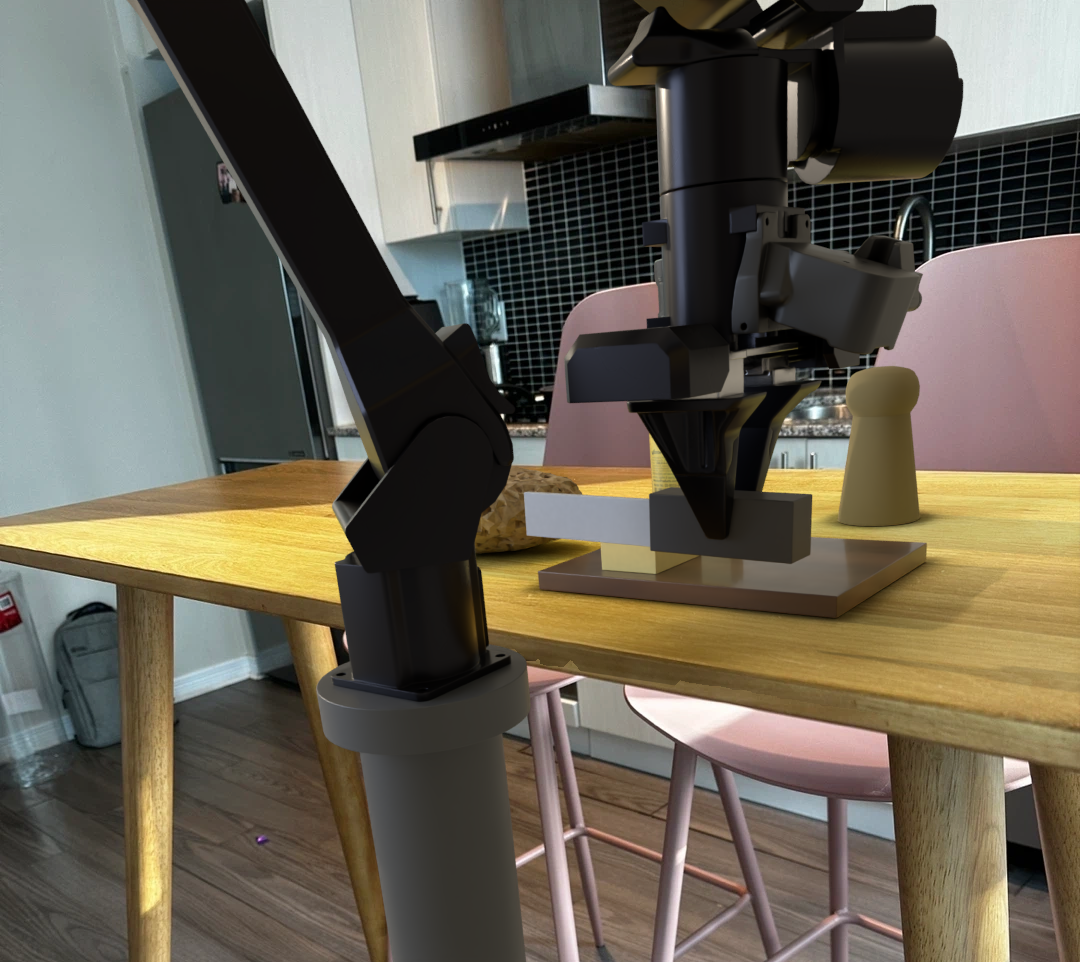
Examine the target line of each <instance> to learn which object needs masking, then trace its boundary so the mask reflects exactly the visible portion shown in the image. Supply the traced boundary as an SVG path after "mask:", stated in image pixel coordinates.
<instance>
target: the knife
mask: <svg viewBox="0 0 1080 962" xmlns="http://www.w3.org/2000/svg"><path fill="white" fill-rule="evenodd" d="M524 501H525V516H526V530H527V536H536V537H548V538H559V540H571V541H581V542H583V541H584V542H592V543H601V542H603V543H614V544H625V545H636V546H647V547H650V551H656V552H667V553H678V554H689V555H699V556H710V557H721V558H731V559H742V560H753V561H764V562H774V563H785V564H792V563H794V562H797V561H799V560H801V559H803V558H805V557H807V556H809V555H810V553H811V537H812V519H813V494H812V493H798V492H777V491H762V492H759V491H739V490H734V501H733V511H732V518H731V524H730V531H729V536H728V537H727V538H726V539H723V540H715V539H708V538H707V537H706V536H705V534H704V532H703V531H702V529H701V527H700V525H699V523H698V521H697V519H696V517H695V515H694V513H693V511H692V509H691V507H690V505H689V503H688V501H687V500H686V498H685V496H684V494H683V492H682V490H681V488H679V487H670V488H666V489H663V490H660V491H657V492H653V493H652V492H650V493H648V498H645V497H627V496H613V495H612V496H611V495H609V496H608V495H595V494H594V495H593V494H582V495H578V494H561V493H544V492H525V493H524Z"/></svg>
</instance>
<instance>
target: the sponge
mask: <svg viewBox="0 0 1080 962" xmlns="http://www.w3.org/2000/svg"><path fill="white" fill-rule="evenodd" d="M525 492H544V493H561V494H578V495H583V491H581V490H580V489H579V486H578V484H577V483H575V482H574V480H572V478H569V477H567V476H561V475H556V474H553V473H552V472H545V471H540V470H537V469H528V468H524V467H519V466H513V465H512V466H511V469H510V473H509V477H508V480H507V484H506V486H505V487H504V489H503V491H502V492H501V494H500V495H499V497H498V498H497V500H496V501H495V502H494V503H493V504H492V505H491V506H490V507H488V508H487V509H486V510H485V511H484V512H482V514H481V518H480V522H479V526H478V530H477V534H476V539H475V550H476V554H487V553H488V554H489V553H504V552H510V551H511V552H513V551H520V550H526V549H530V548H534V547H538V546H541V545H545V544H548V543H551V542H553V541H558V540H560V539H559V538H548V537H536V536H527V530H526V516H525V501H524V493H525Z"/></svg>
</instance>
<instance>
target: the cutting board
mask: <svg viewBox="0 0 1080 962" xmlns="http://www.w3.org/2000/svg"><path fill="white" fill-rule="evenodd" d="M927 549H928V543H927V542H923V541H922V542H921V541H920V542H919V541H903V540H881V539H862V538H861V539H860V538H858V539H857V538H841V537H839V538H838V537H835V538H834V537H821V536H820V537H819V536H811V553H810V555H809V556H807V557H805V558H803V559H801V560H799V561H797V562H794V563H792V564H785V563H774V562H764V561H753V560H742V559H731V558H721V557H710V556H698V557H695V558H693V559H691V560H688V561H686V562H684V563H681V564H679V565H677V566H674V567H672V568H670V569H667V570H665V571H662V572H660V573H658V574H648V573H635V572H623V571H610V570H602V557H601V548H598V549H595V550H593V551H590V552H587V553H584V554H582V555H579V556H576V557H574V558H571V559H570V558H569V559H568V560H565V561H562V562H560V563H557V564H554V565H552V566H548V567H545V568H544V569H540V570H538V571H537V580H538V589H539V590H541V591H542V590H545V591H554V592H563V593H574V594H583V595H594V596H604V597H605V596H606V597H616V598H626V599H634V600H645V601H656V602H667V603H676V604H687V605H696V606H707V607H718V608H728V609H738V610H748V611H758V612H770V613H778V614H780V613H781V614H789V615H801V616H809V617H819V618H830V619H838V618H839V617H841V616H842V615H844V614H846V613H847V612H849V611H850V610H852V609H854V608H855V607H857V606H858V605H860V604H861V603H863V602H864V601H866V600H867V599H869V598H870V597H872V596H874V595H875V594H877V593H879V592H880V591H882V590H883V589H885V588H887V587H888V586H889V585H892V583H895V582H896V581H898V580H899V579H901V578H902V577H903V576H905V575H908V573H910V572H912V571H914V570H915V569H917V568H918V567H920V566H922V565H923V564H924V563H926V562H927V551H928V550H927Z"/></svg>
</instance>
